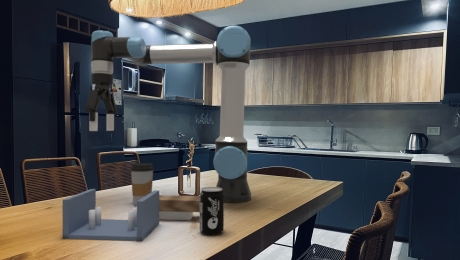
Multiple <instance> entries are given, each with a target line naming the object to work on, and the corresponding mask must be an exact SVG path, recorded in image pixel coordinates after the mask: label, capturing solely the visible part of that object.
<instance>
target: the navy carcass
mask: <svg viewBox="0 0 460 260" xmlns="http://www.w3.org/2000/svg"><path fill="white" fill-rule="evenodd" d="M96 190H97V189H96V188H90V189H87V190H85V191H81V192H80V193H77V194H75V195H71V196H69V197H67V198H63V199H62V232H61V233H62V240H63V239H64V240H65V239H67V240H68V239H69V240H94V241H97V240H98V241H128V242H129V241H133V242H143V241H145V239H146V238H147V237H149V235H150V234H151V233H152V232H153V231H154V230H155V229H156V228H157V227H158V226H159V225H160V219H159V195H160V190H159V189H157V190H156V189H155V190H152V192H151V193H149V194H148V195H146V196H145V197H143V198H141V199H140V200H138V201H137V206H136V207H133V208H132V210H128V214H127V216H128V219H115V218H114V219H109V218H108V219H107V218H102V206H96V204H97V203H96V201H97V199H96V198H97V194H96V193H97V191H96Z"/></svg>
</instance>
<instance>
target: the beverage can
mask: <svg viewBox="0 0 460 260" xmlns="http://www.w3.org/2000/svg"><path fill="white" fill-rule="evenodd" d="M199 196H200V212H199V231H200V232H201V234H202V235H204V236H218V235H221V234H222V232H224V230H225V229H224V228H225V226H224V225H225V224H224V223H225V222H224V221H225V220H224V217H225V216H224V215H225V214H224V213H225V210H224V208H225V202H224V194H223V192H222V188H219V187H216V186H208V187H207V186H206V187H202V188H201V191H200V193H199Z"/></svg>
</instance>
